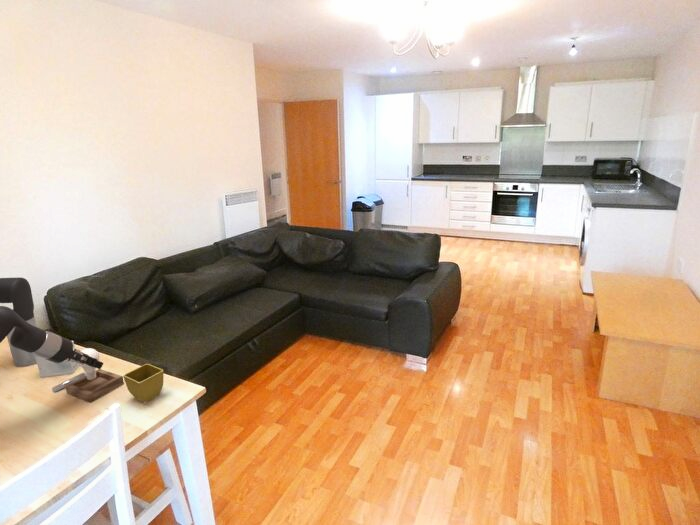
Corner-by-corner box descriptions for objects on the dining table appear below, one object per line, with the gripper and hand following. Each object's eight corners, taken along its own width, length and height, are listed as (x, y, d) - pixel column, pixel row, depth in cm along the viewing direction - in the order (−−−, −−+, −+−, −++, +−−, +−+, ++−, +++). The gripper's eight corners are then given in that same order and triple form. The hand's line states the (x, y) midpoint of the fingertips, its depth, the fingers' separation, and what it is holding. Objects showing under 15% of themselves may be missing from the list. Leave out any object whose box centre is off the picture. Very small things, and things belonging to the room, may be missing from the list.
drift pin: (56, 392, 139) (54, 388, 139) (52, 391, 140) (51, 386, 139) (87, 376, 149) (86, 372, 148) (84, 375, 149) (83, 371, 149)
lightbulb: (92, 385, 136) (87, 354, 133) (76, 383, 137) (70, 352, 134) (107, 375, 142) (102, 345, 139) (91, 373, 143) (85, 344, 140)
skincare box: (39, 378, 148) (33, 351, 145) (47, 369, 154) (41, 343, 151) (72, 374, 150) (66, 347, 147) (79, 365, 156) (73, 339, 154)
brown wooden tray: (66, 394, 138) (64, 386, 137) (101, 376, 149) (99, 368, 148) (90, 403, 133) (88, 394, 132) (123, 383, 144) (122, 376, 143)
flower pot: (168, 394, 138) (164, 369, 135) (143, 408, 130) (139, 382, 128) (151, 386, 142) (147, 363, 139) (126, 400, 135) (122, 375, 132)
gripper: (28, 353, 128) (74, 370, 141) (57, 363, 122) (102, 379, 135) (43, 330, 131) (87, 349, 144) (72, 339, 125) (115, 357, 138)
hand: (94, 363), depth 140 cm, fingers closed on lightbulb, 6 cm apart
